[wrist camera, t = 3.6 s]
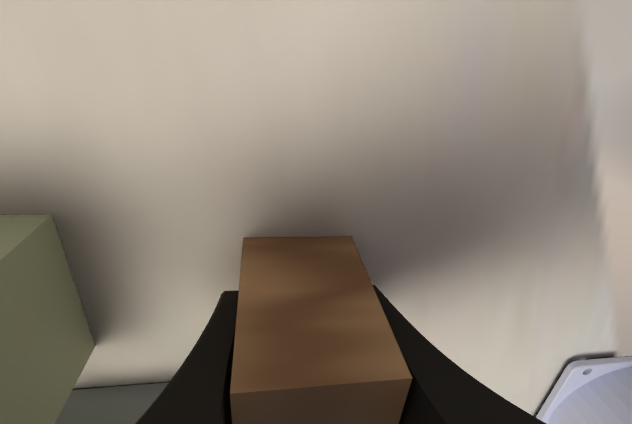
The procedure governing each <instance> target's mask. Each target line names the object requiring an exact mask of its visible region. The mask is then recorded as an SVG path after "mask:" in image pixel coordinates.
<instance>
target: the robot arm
mask: <svg viewBox="0 0 632 424" xmlns="http://www.w3.org/2000/svg"><path fill="white" fill-rule="evenodd" d="M372 286H373V288H374V290H375V293H376V295H377V297H378V300H379V302H380V304H381V306H382V309H383V311H384V313H385V316H386V318H387V320H388V323H389V325H390V327H391V330H392V332H393V334H394V337H395V339H396V341H397V344H398V346H399V348H400V351H401V353H402V355H403V358H404V360H405V362H406V365H407V367H408V369H409V372H410V374H411V376H412V381H411V384H410V388H409V391H408V394H407V398H406V401H405V404H404V407H403V411H402V414H401V417H400V421H399V424H632V356H626V357H613V358H601V359H589V360H577V361H573V362H571V363H570V364H568V365H567V367H566V368H565V370H564V372H563V373H562V375H561V376H560V378H559V380H558V381H557V383H556V385H555V386H554V388H553V390H552V391H551V393H550V395H549V396H548V398H547V400H546V401H545V403H544V404H543V406H542V408H541V409H540V411H539V413H538V414H537V416H536V418H535V417H534V416H532V415H530V414H529V413H527V412H525V411H524V410H522V409H520V408H519V407H517V406H515V405H514V404H512V403H510V402H509V401H507V400H506V399H504V398H503V397H501V396H499V395H498V394H496V393H495V392H493V391H492V390H490V389H489V388H488V387H486V386H485V385H483V384H482V383H480V382H479V381H477V380H476V379H475V378H473V377H472V376H471V375H469V374H468V373H466V372H465V371H464V370H462V369H461V368H460V367H459V366H457V365H456V364H455V363H454V362H452V361H451V360H450V359H449V358H447V357H446V356H445V355H444V354H443V353H441V352H440V351H439V350H438V349H437V348H436V347H435V346H433V345H432V344H431V343H430V342H429V341H428V340H427V339H426V338H425V337H424V336H423V335H421V334H420V333H419V332H418V331H417V330H416V329H415V328H414V327H413V326H412V325H411V324H410V323H409V322H408V321H407V320H406V319H405V318H404V317H403V315H402V314H401V313H400V312H399V311H398V310H397V309H396V308H395V307H394V306H393V305H392V304H391V303H390V302H389V300H388V299H387V298H386V297H385V296H384V295H383V294H382V293H381V292H380V291H379V290H378V288H377V287H376V286H375V285H372ZM238 294H239V291H224V292H223V293H222V294H221V297H220V299H219V302H218V304H217V306H216V308H215V310H214V312H213V314H212V316H211V318H210V320H209V322H208V324H207V326H206V327H205V329H204V331H203V333H202V334H201V336H200V338H199V340H198V341H197V343H196V344H195V346H194V348H193V349H192V351H191V352H190V354H189V355H188V357H187V358H186V360H185V361H184V363H183V364H182V366H181V367H180V369H179V370H178V371H177V373H176V374H175V375H174V377H173V378H172V380H171V381H170V382H169V383H168V385H167V386H166V387H165V389H164V390H163V391H162V392H161V394H160V395H159V396H158V397H157V399H156V400H155V401H154V402H153V403H152V405H151V406H150V407H149V408H148V409H147V411H146V412H145V413H144V414H143V415H142V416H141V417H140V419H139V420H138V421H137V422H136V423H135V424H232V415H231V402H230V386H231V375H232V363H233V352H234V340H235V329H236V317H237V306H238Z"/></svg>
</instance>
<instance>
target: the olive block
mask: <svg viewBox="0 0 632 424" xmlns="http://www.w3.org/2000/svg"><path fill="white" fill-rule="evenodd" d="M94 347H95V344H94V341H93V338H92V335H91V331H90V328H89V325H88V322H87V319H86V316H85V313H84V310H83V307H82V304H81V301H80V298H79V295H78V292H77V289H76V286H75V283H74V280H73V277H72V274H71V271H70V268H69V265H68V262H67V259H66V256H65V253H64V250H63V247H62V244H61V241H60V238H59V235H58V232H57V229H56V226H55V223H54V220H53V217H52V215H0V424H55V422H56V420H57V418H58V416H59V414H60V412H61V410H62V408H63V407H64V405H65V403H66V401H67V399H68V397H69V395H70V393H71V391H72V389H73V387H74V386H75V384H76V382H77V380H78V378H79V376H80V374H81V372H82V370H83V368H84V366H85V364H86V363H87V361H88V359H89V357H90V355H91V353H92V351H93V349H94Z"/></svg>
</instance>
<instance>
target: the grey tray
mask: <svg viewBox="0 0 632 424" xmlns="http://www.w3.org/2000/svg"><path fill="white" fill-rule="evenodd" d="M168 383H169V382H167V383H154V384H141V385H129V386H116V387H103V388H90V389H77V390H72V391H71V393H70V395H69V397H68V399H67V401H66V403H65V405H64V407H63V408H62V410H61V412H60V414H59V416H58V418H57V420H56V422H55V424H135V423H136V422H137V421H138V420H139V419H140V417H141V416H142V415H143V414H144V413H145V412H146V411H147V409H148V408H149V407H150V406H151V405H152V403H153V402H154V401H155V400H156V399H157V397H158V396H159V395H160V394H161V392H162V391H163V390H164V389H165V387H166V386H167V385H168Z"/></svg>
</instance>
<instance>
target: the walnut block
mask: <svg viewBox="0 0 632 424" xmlns="http://www.w3.org/2000/svg"><path fill="white" fill-rule="evenodd" d="M411 381H412V376H411V374H410V372H409V369H408V367H407V365H406V362H405V360H404V358H403V355H402V353H401V351H400V348H399V346H398V344H397V341H396V339H395V337H394V334H393V332H392V330H391V327H390V325H389V323H388V320H387V318H386V316H385V313H384V311H383V309H382V306H381V304H380V302H379V300H378V297H377V295H376V293H375V290H374V288H373V286H372V283H371V281H370V279H369V276H368V274H367V272H366V269H365V267H364V265H363V262H362V260H361V258H360V255H359V253H358V251H357V248H356V246H355V244H354V241H353V239H352V237H351V236H347V237H287V238H243V248H242V260H241V271H240V283H239V294H238V306H237V317H236V329H235V340H234V352H233V363H232V375H231V386H230V402H231V415H232V424H399V421H400V417H401V414H402V411H403V407H404V404H405V401H406V398H407V394H408V391H409V388H410V384H411Z"/></svg>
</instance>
